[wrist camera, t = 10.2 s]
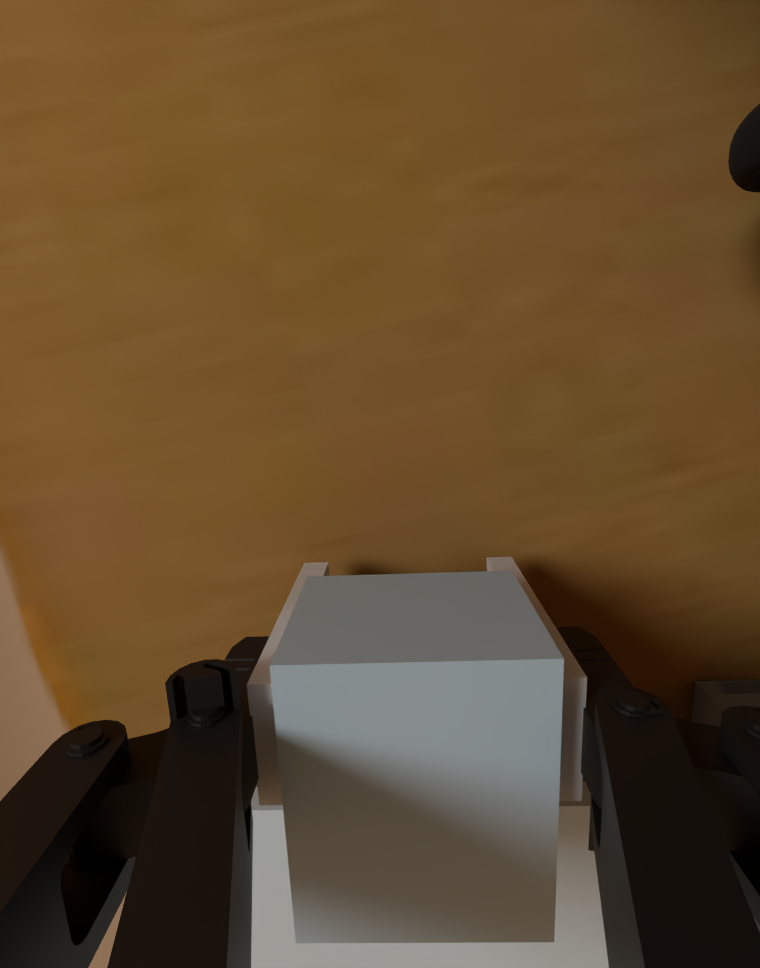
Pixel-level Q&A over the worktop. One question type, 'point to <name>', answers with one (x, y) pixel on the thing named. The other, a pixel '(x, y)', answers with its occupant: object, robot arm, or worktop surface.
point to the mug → (746, 153)
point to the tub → (722, 701)
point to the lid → (421, 785)
